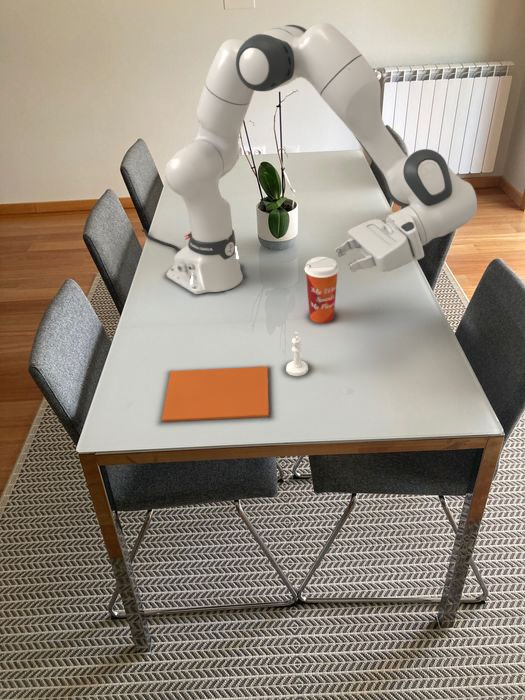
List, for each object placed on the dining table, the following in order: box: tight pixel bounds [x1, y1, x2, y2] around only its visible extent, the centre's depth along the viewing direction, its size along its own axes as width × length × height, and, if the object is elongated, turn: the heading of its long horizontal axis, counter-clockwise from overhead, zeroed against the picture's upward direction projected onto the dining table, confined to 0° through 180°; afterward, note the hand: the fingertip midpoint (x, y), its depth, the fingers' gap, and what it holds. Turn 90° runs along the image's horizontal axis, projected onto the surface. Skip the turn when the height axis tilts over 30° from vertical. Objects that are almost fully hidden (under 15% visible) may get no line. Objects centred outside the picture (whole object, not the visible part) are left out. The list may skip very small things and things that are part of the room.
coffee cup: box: [304, 256, 340, 324], centre depth 147 cm, size 8×8×15 cm
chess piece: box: [285, 331, 309, 377], centre depth 132 cm, size 5×5×10 cm
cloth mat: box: [161, 366, 270, 422], centre depth 129 cm, size 22×16×1 cm
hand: (343, 260), depth 126 cm, fingers open, 8 cm apart
